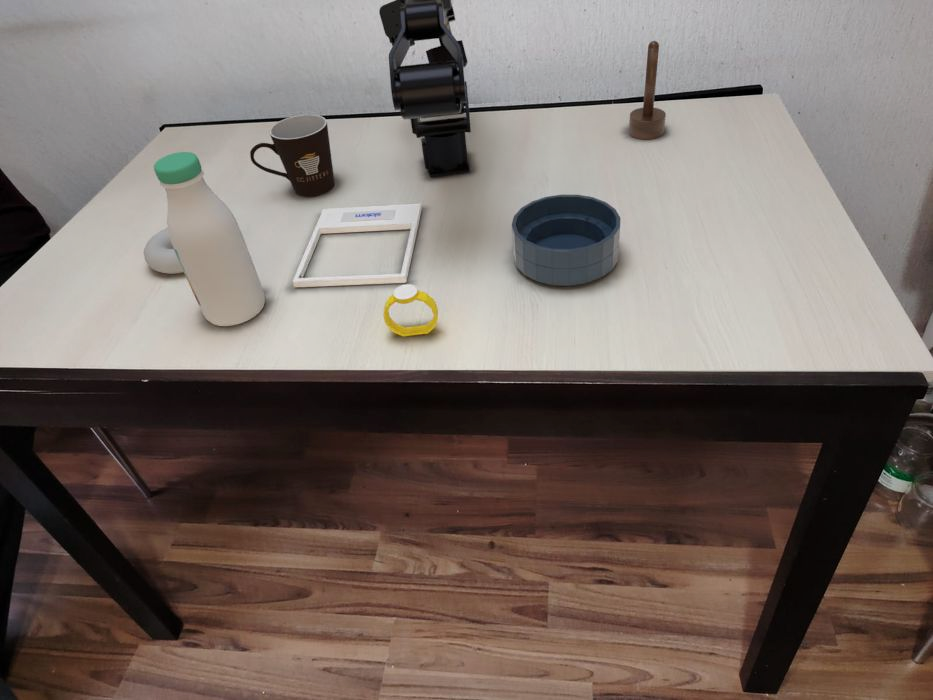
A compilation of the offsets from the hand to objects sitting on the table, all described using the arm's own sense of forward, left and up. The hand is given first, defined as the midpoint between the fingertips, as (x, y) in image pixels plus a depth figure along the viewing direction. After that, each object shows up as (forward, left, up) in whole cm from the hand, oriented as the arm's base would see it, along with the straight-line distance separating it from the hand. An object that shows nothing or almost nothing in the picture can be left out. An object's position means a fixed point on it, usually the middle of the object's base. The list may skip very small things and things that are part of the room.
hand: (437, 19), depth 116 cm
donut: (+41, +41, -15) cm, 60 cm away
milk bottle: (+32, +55, -15) cm, 66 cm away
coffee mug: (+25, +25, -15) cm, 39 cm away
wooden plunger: (-31, +23, -15) cm, 41 cm away
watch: (+10, +65, -15) cm, 68 cm away
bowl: (-10, +55, -15) cm, 58 cm away
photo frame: (+16, +45, -15) cm, 50 cm away
